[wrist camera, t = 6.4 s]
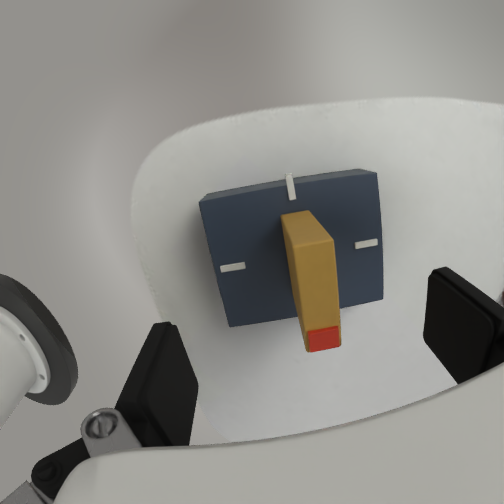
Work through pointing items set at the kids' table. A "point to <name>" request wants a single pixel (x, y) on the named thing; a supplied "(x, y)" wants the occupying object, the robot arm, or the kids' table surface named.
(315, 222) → the lock knob
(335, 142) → the kids' table surface
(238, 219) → the plate
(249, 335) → the kids' table surface
